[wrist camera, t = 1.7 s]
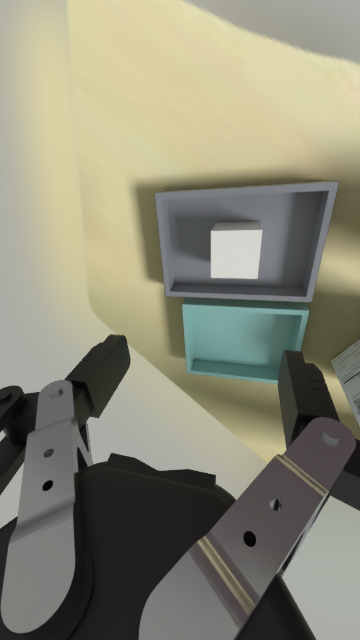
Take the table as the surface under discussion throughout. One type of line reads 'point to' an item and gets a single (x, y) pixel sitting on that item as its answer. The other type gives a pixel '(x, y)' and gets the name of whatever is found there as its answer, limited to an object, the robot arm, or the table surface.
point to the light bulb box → (350, 375)
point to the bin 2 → (241, 336)
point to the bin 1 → (276, 245)
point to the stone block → (236, 249)
